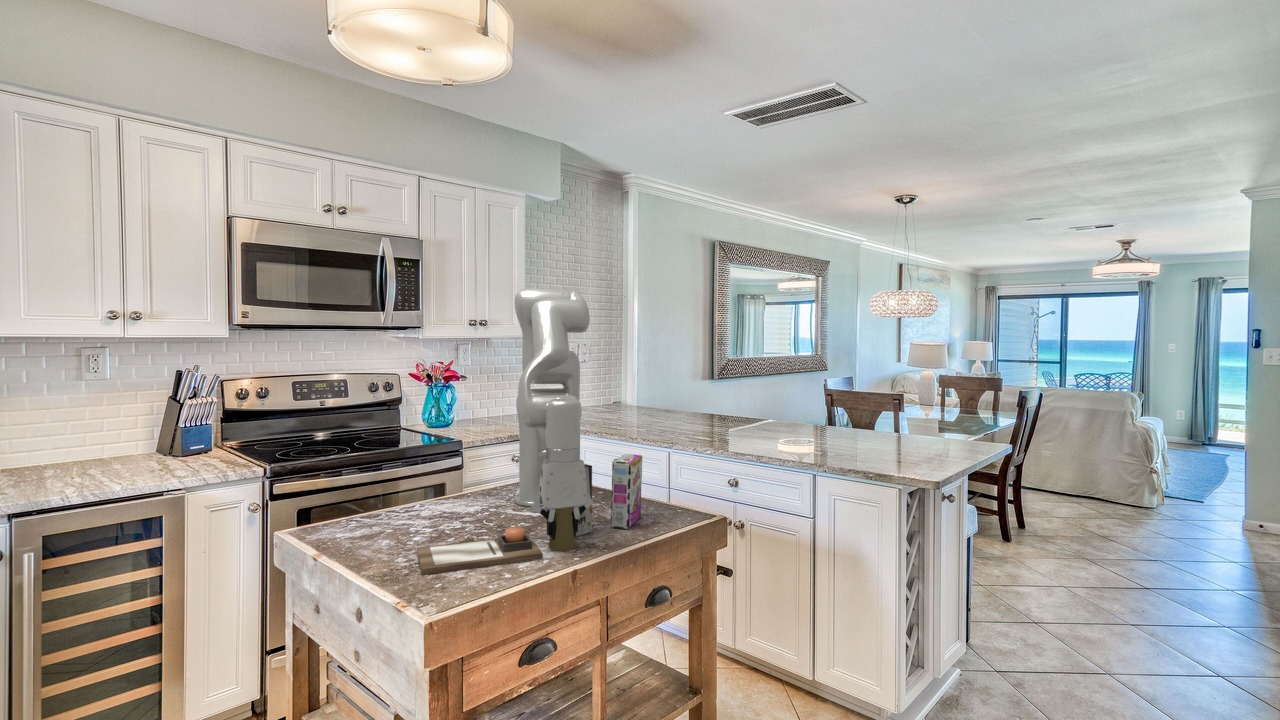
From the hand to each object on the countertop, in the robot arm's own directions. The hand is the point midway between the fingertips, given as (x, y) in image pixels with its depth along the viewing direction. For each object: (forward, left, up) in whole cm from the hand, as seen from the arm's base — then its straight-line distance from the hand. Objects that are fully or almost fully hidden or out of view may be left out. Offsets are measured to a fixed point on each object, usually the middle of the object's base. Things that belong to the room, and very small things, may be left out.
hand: (562, 536), depth 140 cm
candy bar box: (-11, +20, -3) cm, 23 cm away
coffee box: (-10, +5, -3) cm, 11 cm away
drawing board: (-1, -18, -2) cm, 18 cm away
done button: (-1, -10, 0) cm, 11 cm away
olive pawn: (0, 0, -2) cm, 2 cm away
